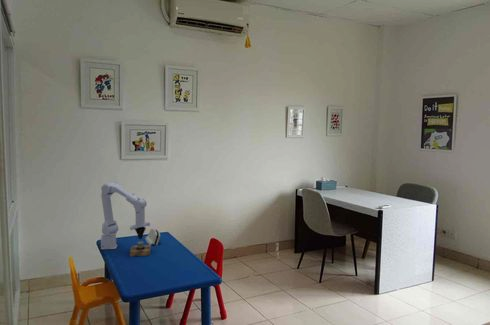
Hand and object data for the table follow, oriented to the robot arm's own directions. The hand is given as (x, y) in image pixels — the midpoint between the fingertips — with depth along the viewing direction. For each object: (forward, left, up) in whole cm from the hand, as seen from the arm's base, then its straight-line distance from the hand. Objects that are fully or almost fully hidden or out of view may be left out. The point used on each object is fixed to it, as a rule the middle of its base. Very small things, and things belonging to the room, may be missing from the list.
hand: (140, 238), depth 245 cm
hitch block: (0, 0, -9) cm, 9 cm away
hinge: (+6, +22, -10) cm, 25 cm away
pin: (0, 0, -9) cm, 9 cm away
